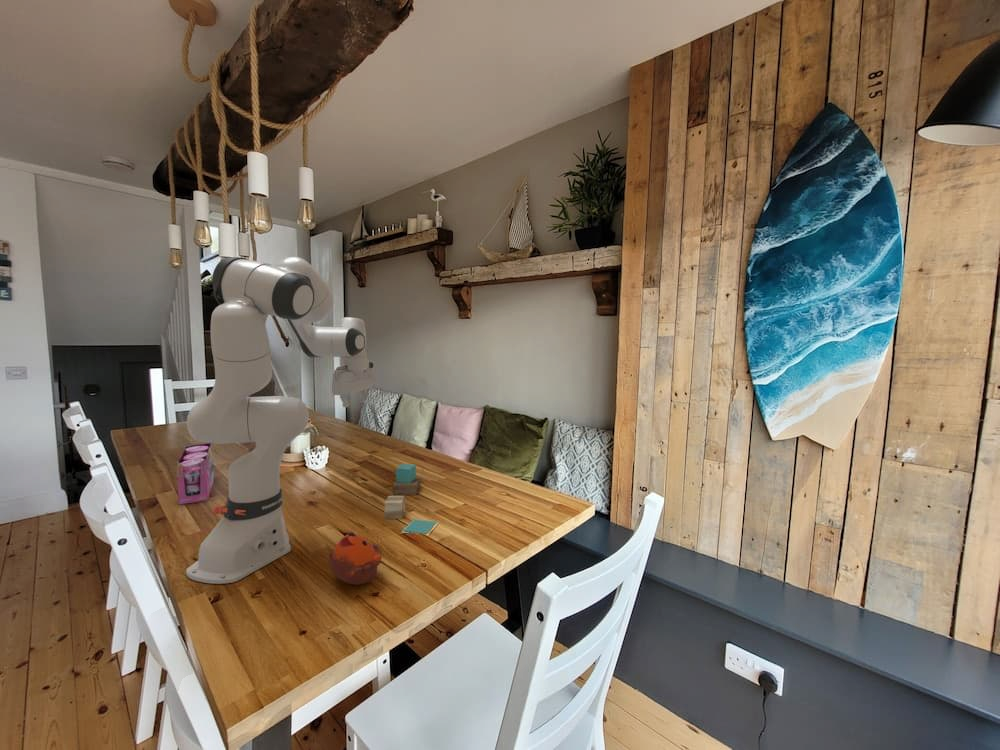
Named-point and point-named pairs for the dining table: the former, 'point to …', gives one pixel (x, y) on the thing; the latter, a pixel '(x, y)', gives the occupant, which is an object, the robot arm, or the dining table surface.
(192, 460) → the gum box
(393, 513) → the maple cube
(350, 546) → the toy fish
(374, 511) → the dining table surface
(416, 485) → the walnut block
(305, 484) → the dining table surface
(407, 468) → the teal cube
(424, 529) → the swatch tile
